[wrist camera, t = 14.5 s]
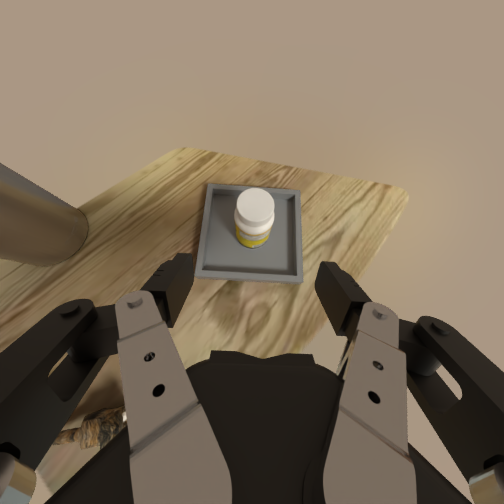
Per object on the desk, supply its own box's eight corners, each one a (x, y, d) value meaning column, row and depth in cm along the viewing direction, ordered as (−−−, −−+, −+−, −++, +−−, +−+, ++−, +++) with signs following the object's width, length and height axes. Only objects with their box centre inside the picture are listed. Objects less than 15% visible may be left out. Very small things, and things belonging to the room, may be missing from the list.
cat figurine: (144, 424, 20) (111, 455, 16) (79, 437, 20) (32, 469, 16) (143, 395, 20) (111, 417, 17) (80, 408, 21) (36, 432, 17)
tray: (198, 278, 25) (194, 275, 23) (210, 191, 29) (208, 183, 27) (298, 284, 25) (303, 282, 23) (296, 197, 30) (300, 190, 28)
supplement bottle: (243, 215, 28) (243, 178, 20) (272, 226, 27) (284, 192, 19) (231, 243, 26) (225, 215, 18) (261, 255, 26) (269, 231, 18)
